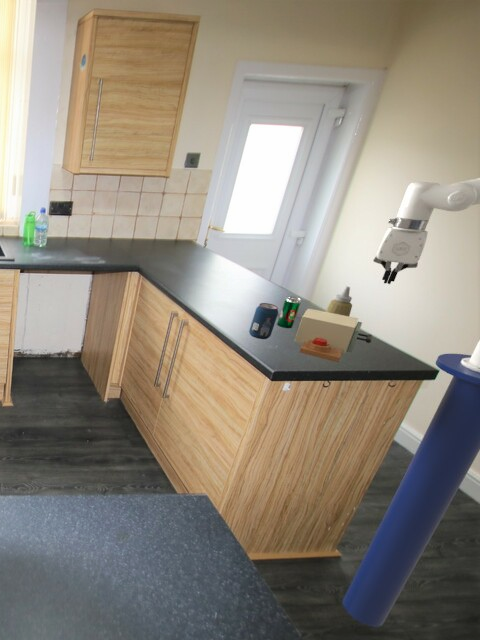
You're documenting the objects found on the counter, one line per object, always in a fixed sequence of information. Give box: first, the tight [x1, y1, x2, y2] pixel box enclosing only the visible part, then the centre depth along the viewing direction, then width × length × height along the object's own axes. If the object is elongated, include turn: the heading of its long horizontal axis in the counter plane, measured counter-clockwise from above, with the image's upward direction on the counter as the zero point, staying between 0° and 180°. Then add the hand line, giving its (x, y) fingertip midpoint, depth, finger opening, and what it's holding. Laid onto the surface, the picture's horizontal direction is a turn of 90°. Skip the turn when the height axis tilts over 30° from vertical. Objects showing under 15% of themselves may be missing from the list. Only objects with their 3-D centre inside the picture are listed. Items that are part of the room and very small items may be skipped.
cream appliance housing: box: [293, 308, 359, 355], centre depth 167 cm, size 15×13×10 cm
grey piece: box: [346, 321, 373, 353], centre depth 164 cm, size 18×12×8 cm, turn 49°
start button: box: [313, 338, 327, 346], centre depth 159 cm, size 4×4×2 cm
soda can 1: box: [248, 302, 279, 340], centre depth 170 cm, size 7×7×12 cm
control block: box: [298, 340, 343, 363], centre depth 159 cm, size 11×8×4 cm
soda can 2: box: [276, 296, 302, 329], centre depth 179 cm, size 5×5×12 cm
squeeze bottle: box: [325, 286, 353, 317], centre depth 175 cm, size 8×8×18 cm
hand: (387, 282), depth 151 cm, fingers closed
